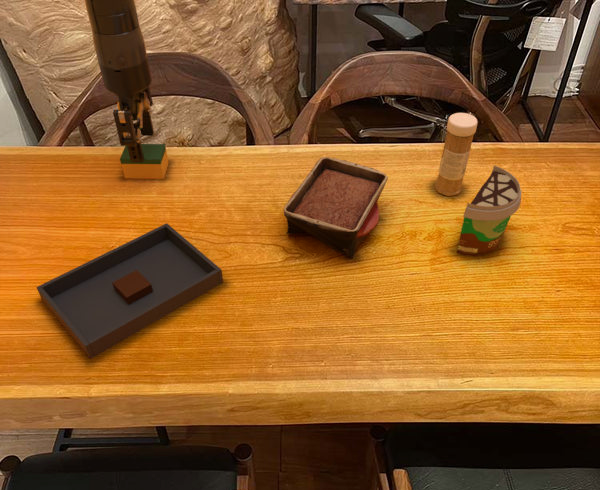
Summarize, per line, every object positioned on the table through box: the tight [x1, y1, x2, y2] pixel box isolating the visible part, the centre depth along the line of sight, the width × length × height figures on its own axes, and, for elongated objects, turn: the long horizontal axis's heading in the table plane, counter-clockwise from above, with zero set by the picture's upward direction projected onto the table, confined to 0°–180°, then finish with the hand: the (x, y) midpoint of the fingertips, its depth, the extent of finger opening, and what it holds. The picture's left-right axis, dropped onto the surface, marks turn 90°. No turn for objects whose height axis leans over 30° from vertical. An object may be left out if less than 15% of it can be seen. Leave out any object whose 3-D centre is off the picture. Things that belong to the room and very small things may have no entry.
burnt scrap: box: [112, 270, 153, 305], centre depth 83 cm, size 4×4×2 cm
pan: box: [35, 222, 224, 359], centre depth 83 cm, size 21×14×3 cm
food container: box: [456, 165, 522, 257], centre depth 88 cm, size 12×6×10 cm, turn 148°
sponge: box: [119, 143, 169, 180], centre depth 105 cm, size 7×5×4 cm
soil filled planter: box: [283, 156, 389, 259], centre depth 92 cm, size 14×18×10 cm
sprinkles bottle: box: [435, 112, 479, 197], centre depth 97 cm, size 5×5×14 cm
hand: (143, 147), depth 103 cm, fingers open, 8 cm apart
